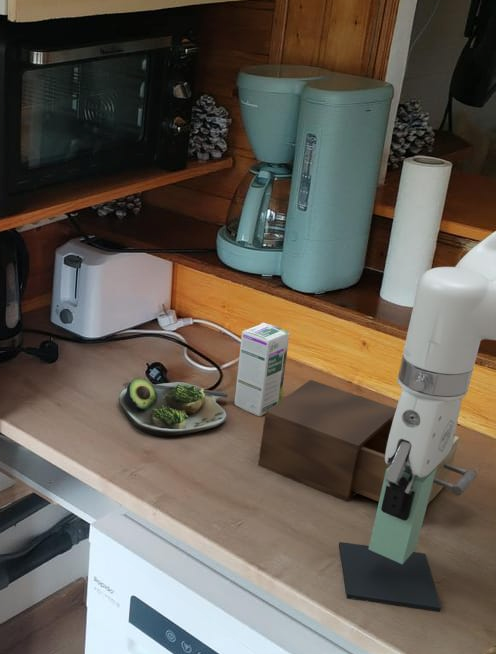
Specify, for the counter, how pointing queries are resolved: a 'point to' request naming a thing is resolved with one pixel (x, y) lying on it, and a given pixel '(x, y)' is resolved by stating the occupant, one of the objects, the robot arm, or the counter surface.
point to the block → (401, 522)
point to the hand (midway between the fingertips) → (403, 505)
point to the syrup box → (261, 368)
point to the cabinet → (320, 436)
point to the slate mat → (388, 578)
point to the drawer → (374, 465)
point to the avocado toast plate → (170, 407)
